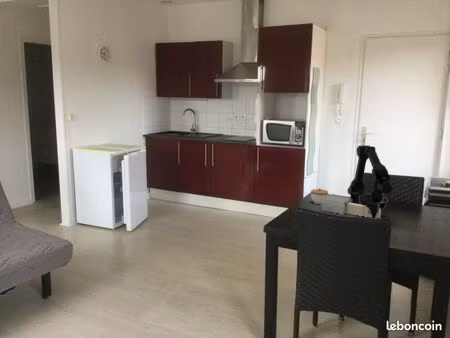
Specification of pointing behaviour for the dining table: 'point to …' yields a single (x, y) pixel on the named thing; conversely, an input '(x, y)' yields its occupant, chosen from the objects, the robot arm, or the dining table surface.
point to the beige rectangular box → (360, 210)
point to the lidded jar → (318, 195)
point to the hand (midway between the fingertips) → (376, 216)
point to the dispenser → (334, 204)
